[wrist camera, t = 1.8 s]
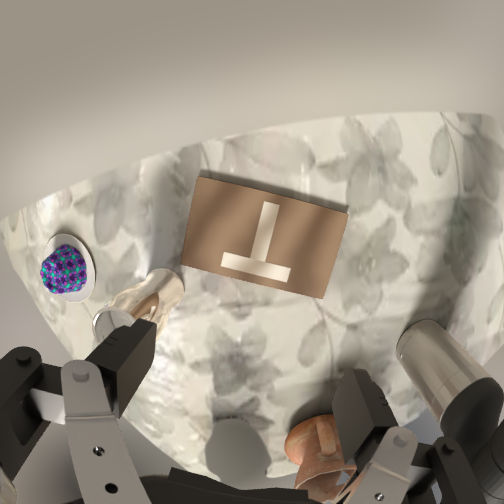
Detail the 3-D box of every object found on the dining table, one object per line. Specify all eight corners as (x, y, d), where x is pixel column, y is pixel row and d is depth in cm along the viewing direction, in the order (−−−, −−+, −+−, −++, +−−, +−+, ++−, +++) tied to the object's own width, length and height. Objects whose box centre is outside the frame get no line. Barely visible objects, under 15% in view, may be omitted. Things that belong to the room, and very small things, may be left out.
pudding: (45, 229, 40) (25, 234, 35) (96, 237, 40) (77, 244, 35) (49, 293, 43) (32, 303, 38) (99, 307, 43) (83, 320, 38)
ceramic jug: (354, 449, 47) (368, 499, 33) (286, 460, 48) (289, 513, 34) (361, 390, 44) (385, 447, 30) (280, 403, 45) (282, 465, 31)
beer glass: (141, 262, 40) (85, 301, 25) (186, 266, 40) (145, 310, 25) (144, 306, 42) (96, 358, 27) (187, 311, 41) (152, 370, 27)
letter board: (346, 213, 37) (348, 214, 36) (321, 296, 40) (322, 299, 39) (199, 176, 37) (197, 176, 36) (182, 262, 40) (179, 264, 39)
